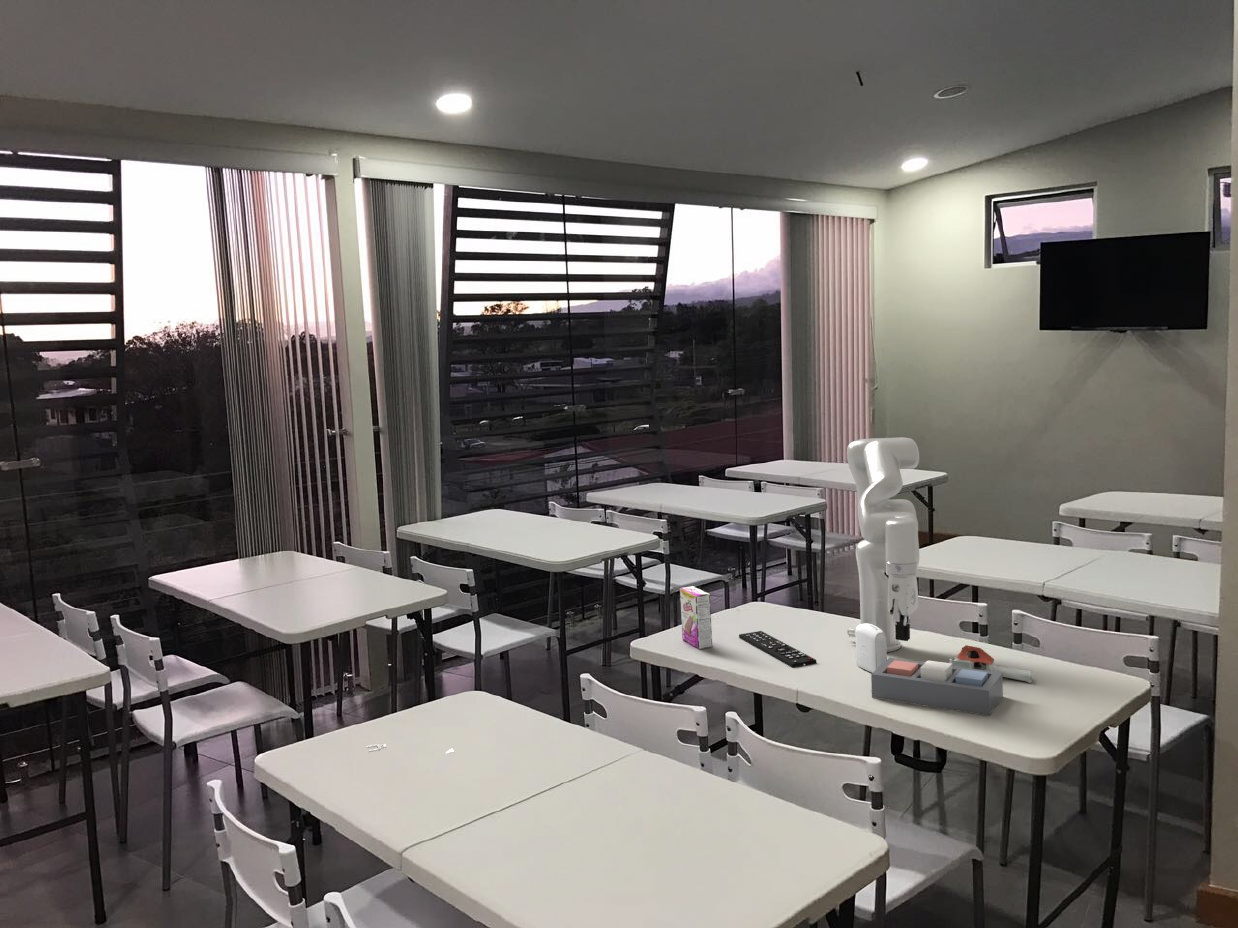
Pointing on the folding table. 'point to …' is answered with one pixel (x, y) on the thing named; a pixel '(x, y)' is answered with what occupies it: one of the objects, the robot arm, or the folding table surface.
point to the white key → (936, 671)
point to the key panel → (938, 690)
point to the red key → (902, 668)
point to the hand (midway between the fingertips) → (902, 639)
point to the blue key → (972, 677)
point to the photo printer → (870, 647)
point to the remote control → (777, 649)
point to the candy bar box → (696, 617)
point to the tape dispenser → (987, 663)
